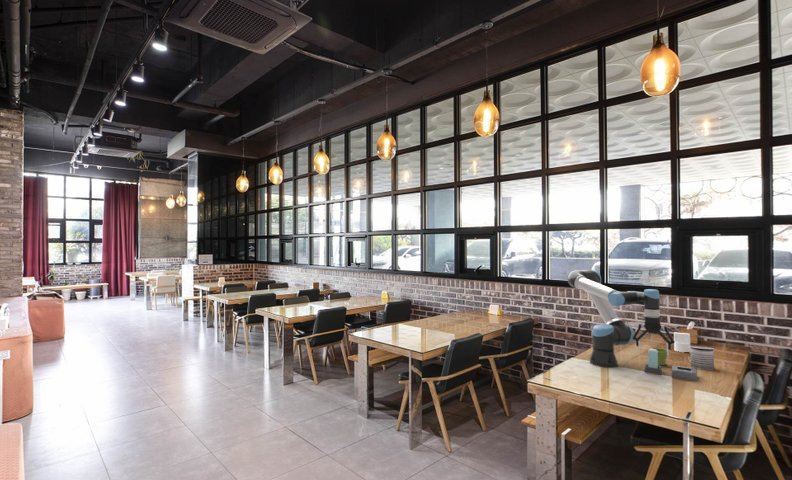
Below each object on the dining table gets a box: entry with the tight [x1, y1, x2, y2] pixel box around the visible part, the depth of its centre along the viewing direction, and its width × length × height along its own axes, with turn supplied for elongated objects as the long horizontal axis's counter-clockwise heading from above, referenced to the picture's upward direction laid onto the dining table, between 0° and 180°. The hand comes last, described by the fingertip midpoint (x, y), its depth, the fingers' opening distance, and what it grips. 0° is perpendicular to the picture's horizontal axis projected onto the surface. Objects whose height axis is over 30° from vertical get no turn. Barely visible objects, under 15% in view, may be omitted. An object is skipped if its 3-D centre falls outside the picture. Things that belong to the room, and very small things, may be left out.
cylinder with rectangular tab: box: [673, 331, 691, 353], centre depth 276 cm, size 9×9×12 cm
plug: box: [647, 348, 659, 369], centre depth 231 cm, size 4×4×13 cm
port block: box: [671, 365, 698, 382], centre depth 223 cm, size 11×11×4 cm
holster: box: [644, 363, 663, 376], centre depth 231 cm, size 8×8×3 cm
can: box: [689, 345, 715, 371], centre depth 240 cm, size 11×11×12 cm
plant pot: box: [650, 347, 668, 366], centre depth 246 cm, size 9×9×9 cm
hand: (653, 353), depth 231 cm, fingers open, 13 cm apart
